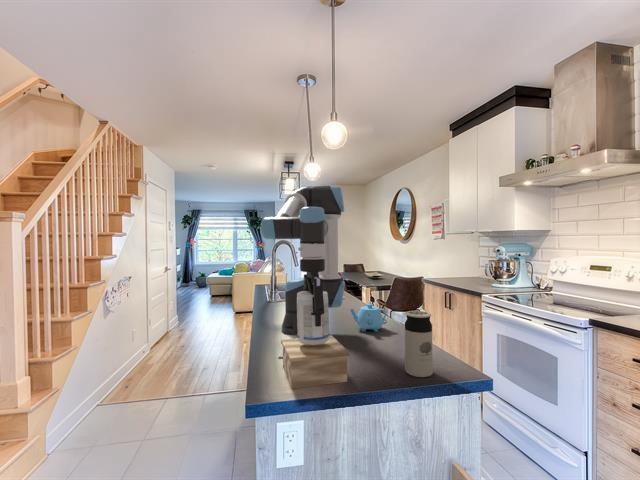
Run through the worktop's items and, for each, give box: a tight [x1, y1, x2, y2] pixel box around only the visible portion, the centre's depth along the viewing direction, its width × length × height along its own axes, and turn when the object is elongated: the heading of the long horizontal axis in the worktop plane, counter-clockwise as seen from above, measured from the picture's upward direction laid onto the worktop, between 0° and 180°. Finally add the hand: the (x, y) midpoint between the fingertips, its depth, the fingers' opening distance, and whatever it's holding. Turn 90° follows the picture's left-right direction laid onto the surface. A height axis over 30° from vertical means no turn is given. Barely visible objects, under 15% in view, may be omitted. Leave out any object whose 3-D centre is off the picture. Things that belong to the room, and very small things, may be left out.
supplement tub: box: [297, 291, 330, 345], centre depth 97 cm, size 10×10×15 cm
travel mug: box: [404, 310, 434, 378], centre depth 98 cm, size 8×8×18 cm
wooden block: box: [280, 334, 350, 389], centre depth 97 cm, size 17×17×8 cm
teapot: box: [349, 300, 388, 333], centre depth 146 cm, size 15×14×11 cm
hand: (312, 332), depth 97 cm, fingers closed on supplement tub, 10 cm apart
